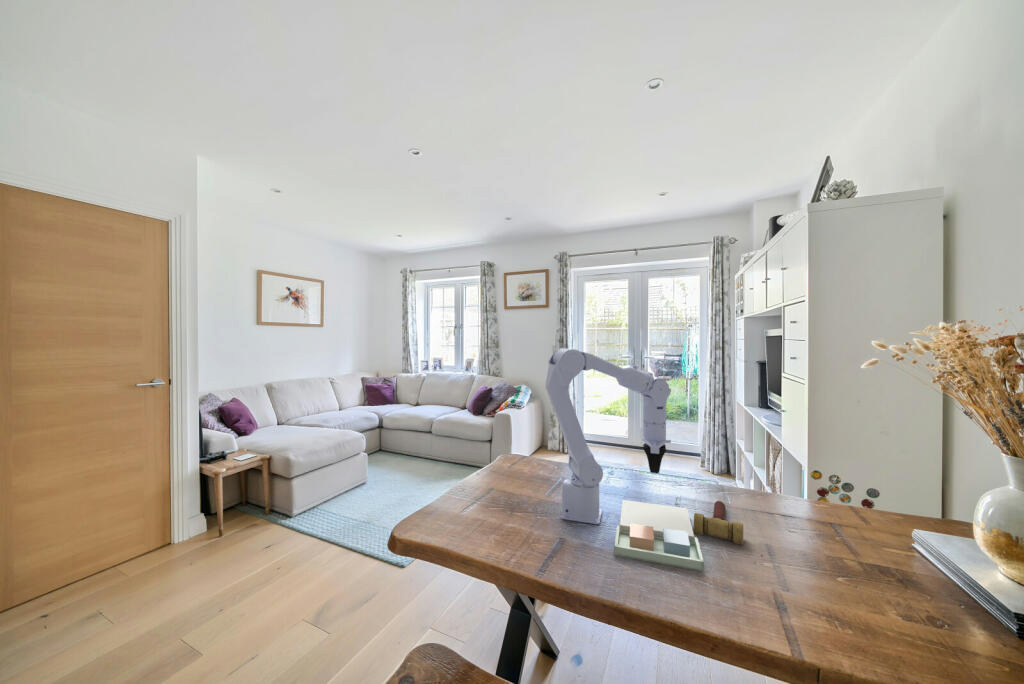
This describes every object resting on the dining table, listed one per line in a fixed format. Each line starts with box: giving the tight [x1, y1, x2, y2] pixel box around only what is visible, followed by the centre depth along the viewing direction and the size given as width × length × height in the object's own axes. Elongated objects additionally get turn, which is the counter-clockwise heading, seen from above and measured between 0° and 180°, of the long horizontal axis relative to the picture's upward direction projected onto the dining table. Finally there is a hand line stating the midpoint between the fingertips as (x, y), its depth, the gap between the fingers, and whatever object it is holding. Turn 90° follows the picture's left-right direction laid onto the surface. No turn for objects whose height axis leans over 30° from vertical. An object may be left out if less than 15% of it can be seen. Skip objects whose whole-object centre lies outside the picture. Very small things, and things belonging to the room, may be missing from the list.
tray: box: [614, 524, 705, 573], centre depth 81 cm, size 17×9×2 cm, turn 71°
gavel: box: [692, 500, 744, 545], centre depth 94 cm, size 21×5×10 cm
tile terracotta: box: [630, 523, 654, 551], centre depth 83 cm, size 5×5×2 cm
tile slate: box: [663, 528, 690, 557], centre depth 81 cm, size 5×5×2 cm
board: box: [619, 499, 695, 542], centre depth 92 cm, size 16×14×2 cm
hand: (654, 472), depth 100 cm, fingers closed
